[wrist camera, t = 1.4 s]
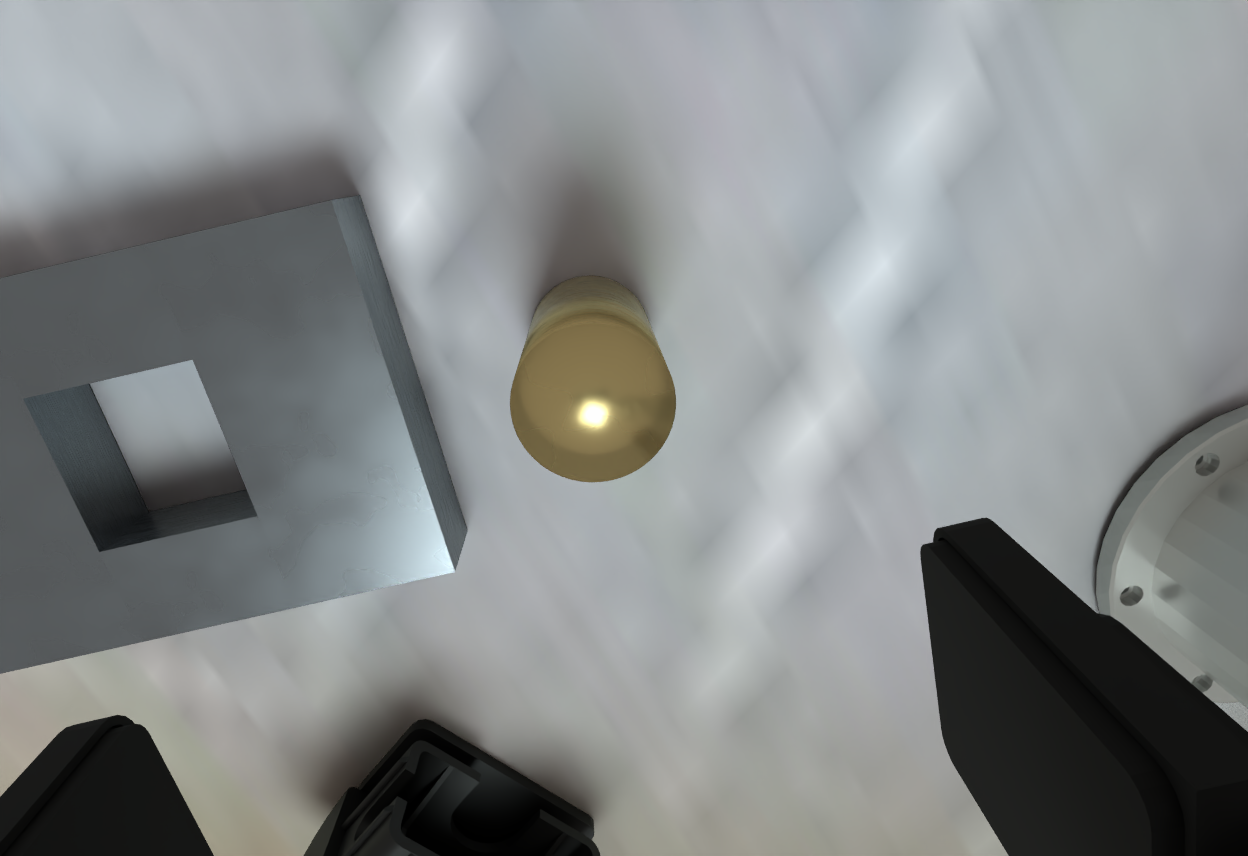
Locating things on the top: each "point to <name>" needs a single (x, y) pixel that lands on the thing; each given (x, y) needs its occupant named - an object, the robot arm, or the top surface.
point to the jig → (250, 420)
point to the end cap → (450, 807)
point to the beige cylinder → (592, 383)
